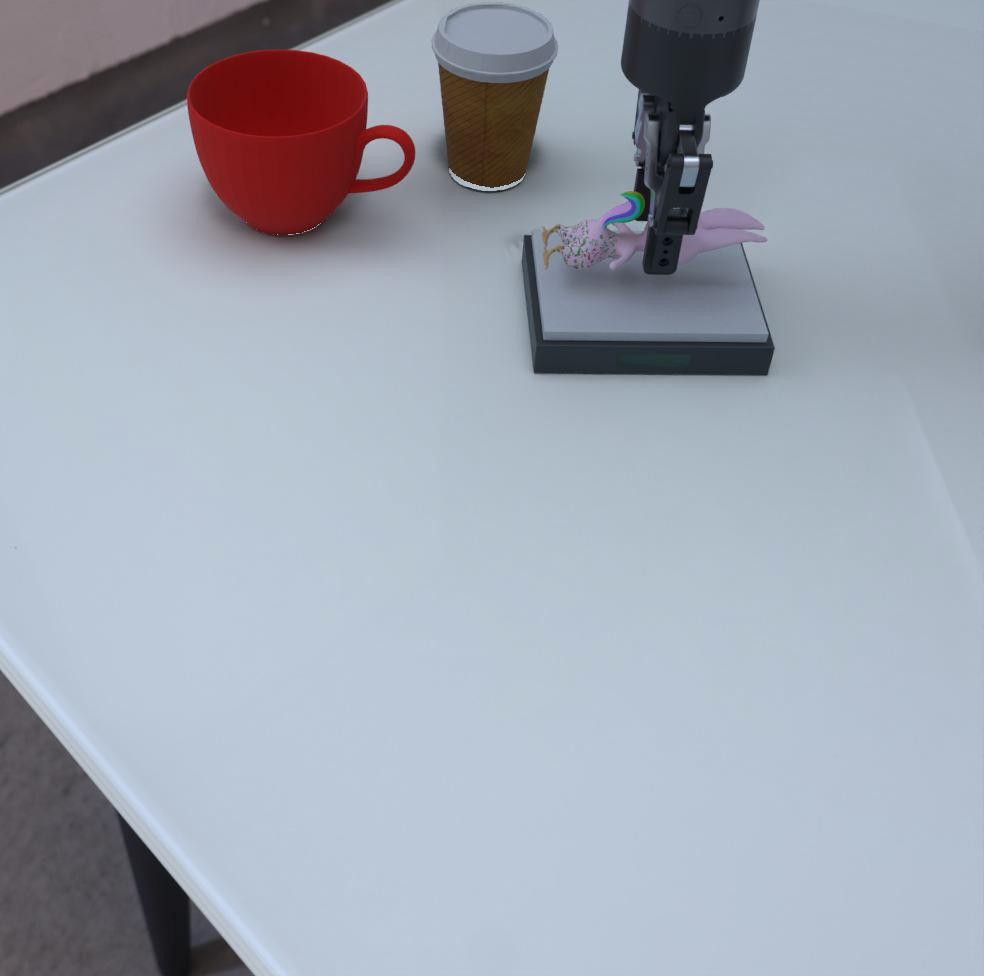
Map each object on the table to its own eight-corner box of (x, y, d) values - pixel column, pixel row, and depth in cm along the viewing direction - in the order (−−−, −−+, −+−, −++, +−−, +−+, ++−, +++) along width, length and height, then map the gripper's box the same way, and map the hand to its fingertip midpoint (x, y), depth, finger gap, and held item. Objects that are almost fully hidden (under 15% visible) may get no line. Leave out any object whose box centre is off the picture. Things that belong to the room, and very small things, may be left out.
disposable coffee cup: (471, 129, 110) (478, -12, 102) (568, 166, 107) (583, 23, 98) (404, 176, 105) (406, 31, 96) (503, 217, 101) (514, 70, 93)
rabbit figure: (545, 302, 89) (771, 281, 87) (538, 227, 85) (775, 203, 83) (543, 249, 93) (758, 229, 91) (536, 175, 89) (762, 152, 87)
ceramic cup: (382, 288, 95) (382, 164, 87) (170, 239, 98) (153, 116, 91) (440, 196, 103) (444, 77, 96) (243, 154, 107) (233, 36, 99)
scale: (734, 264, 98) (743, 227, 96) (767, 375, 89) (778, 338, 87) (521, 261, 97) (524, 224, 95) (533, 373, 89) (537, 335, 86)
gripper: (781, 59, 72) (724, 309, 84) (736, -51, 82) (691, 187, 94) (645, 56, 72) (608, 307, 84) (616, -53, 82) (586, 186, 94)
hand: (652, 243), depth 89 cm, fingers closed on rabbit figure, 5 cm apart
